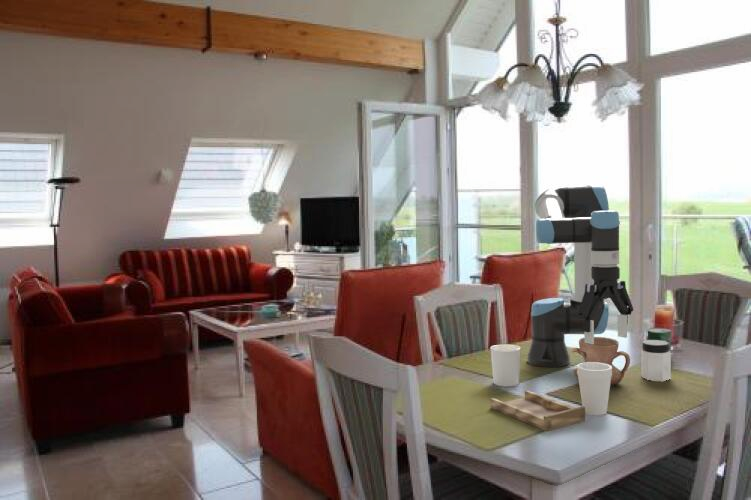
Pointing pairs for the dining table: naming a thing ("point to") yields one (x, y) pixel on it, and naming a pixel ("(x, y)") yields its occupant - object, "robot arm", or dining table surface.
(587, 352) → the ceramic jug
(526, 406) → the track
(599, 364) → the foam cup
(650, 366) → the jar
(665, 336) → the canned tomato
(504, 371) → the candle holder
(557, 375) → the dining table surface
